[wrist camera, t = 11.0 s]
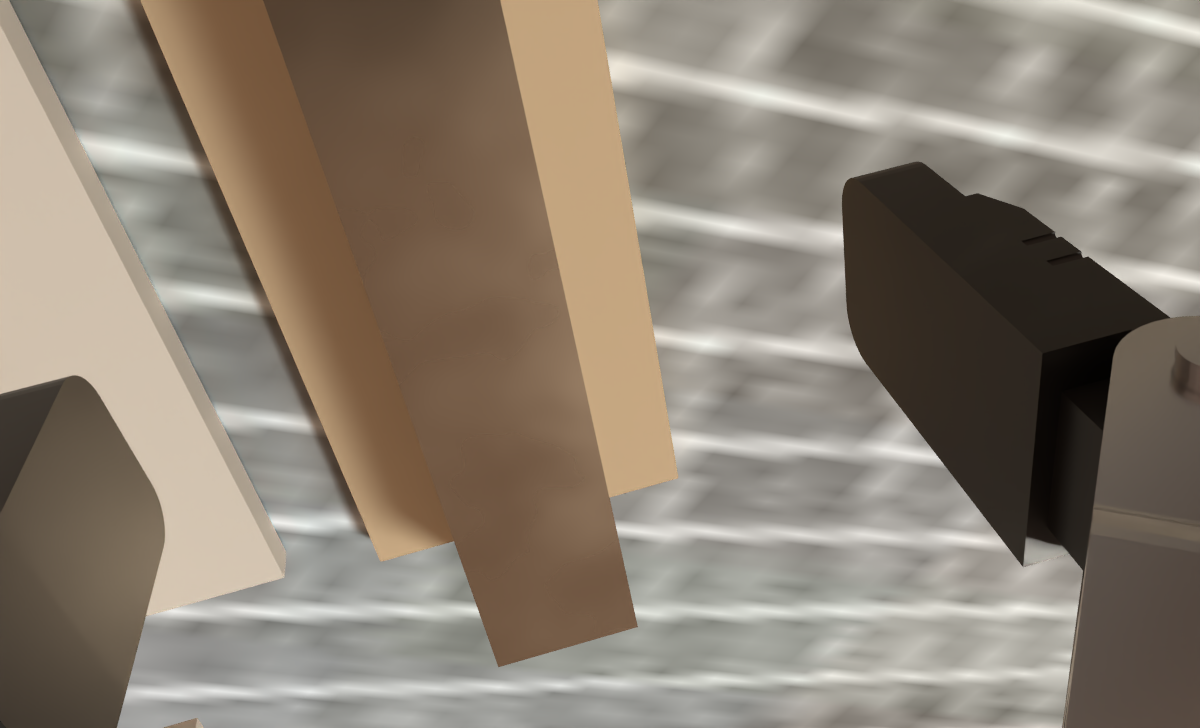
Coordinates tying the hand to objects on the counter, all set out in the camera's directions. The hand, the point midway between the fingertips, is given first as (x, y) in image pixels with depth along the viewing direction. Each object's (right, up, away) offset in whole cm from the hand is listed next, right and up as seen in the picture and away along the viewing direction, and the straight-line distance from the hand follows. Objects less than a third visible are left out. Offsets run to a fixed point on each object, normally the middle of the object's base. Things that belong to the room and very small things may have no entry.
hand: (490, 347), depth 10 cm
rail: (-2, +4, +6) cm, 8 cm away
